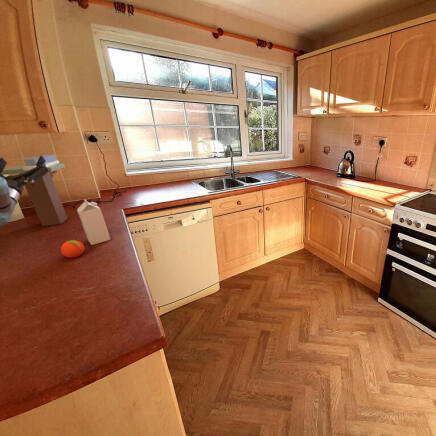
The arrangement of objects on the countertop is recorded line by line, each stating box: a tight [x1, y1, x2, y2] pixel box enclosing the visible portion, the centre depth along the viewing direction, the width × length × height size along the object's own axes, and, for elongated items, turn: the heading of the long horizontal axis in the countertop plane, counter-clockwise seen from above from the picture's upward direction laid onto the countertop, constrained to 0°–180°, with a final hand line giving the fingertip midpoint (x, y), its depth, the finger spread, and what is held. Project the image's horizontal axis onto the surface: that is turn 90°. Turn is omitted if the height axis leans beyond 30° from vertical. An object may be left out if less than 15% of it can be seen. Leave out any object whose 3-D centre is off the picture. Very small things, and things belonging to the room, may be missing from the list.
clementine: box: [60, 239, 85, 259], centre depth 96 cm, size 8×7×7 cm
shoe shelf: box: [1, 162, 68, 227], centre depth 126 cm, size 15×20×30 cm
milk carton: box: [76, 198, 111, 246], centre depth 107 cm, size 7×7×19 cm
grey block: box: [22, 154, 60, 170], centre depth 120 cm, size 22×4×4 cm, turn 20°
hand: (23, 159), depth 108 cm, fingers open, 13 cm apart
